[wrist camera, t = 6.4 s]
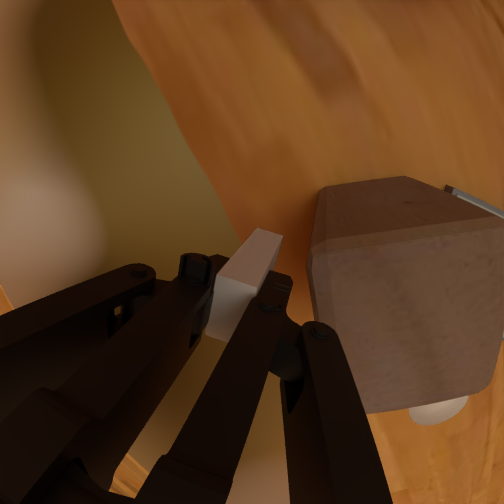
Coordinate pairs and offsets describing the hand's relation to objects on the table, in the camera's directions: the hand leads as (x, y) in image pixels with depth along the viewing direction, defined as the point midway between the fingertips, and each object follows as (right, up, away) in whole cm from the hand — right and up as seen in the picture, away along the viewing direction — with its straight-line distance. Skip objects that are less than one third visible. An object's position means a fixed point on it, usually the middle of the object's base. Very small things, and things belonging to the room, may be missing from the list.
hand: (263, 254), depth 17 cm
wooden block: (+12, +3, +13) cm, 18 cm away
